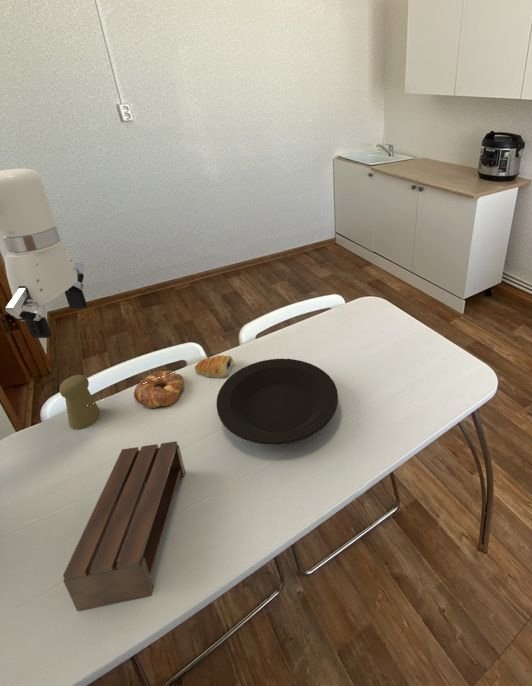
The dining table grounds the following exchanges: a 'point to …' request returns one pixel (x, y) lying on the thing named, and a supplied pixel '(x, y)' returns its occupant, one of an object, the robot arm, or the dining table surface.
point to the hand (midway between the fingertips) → (61, 321)
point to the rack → (125, 528)
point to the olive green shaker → (79, 402)
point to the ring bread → (159, 389)
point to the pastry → (215, 366)
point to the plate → (277, 401)
